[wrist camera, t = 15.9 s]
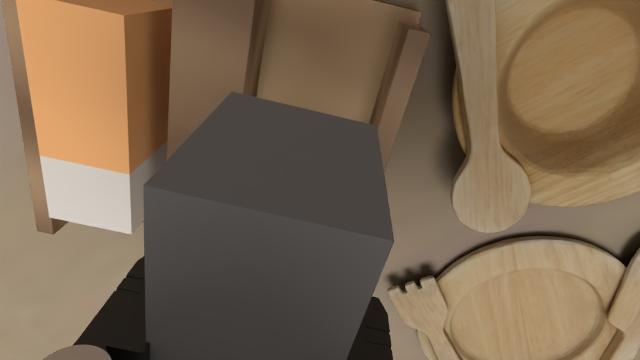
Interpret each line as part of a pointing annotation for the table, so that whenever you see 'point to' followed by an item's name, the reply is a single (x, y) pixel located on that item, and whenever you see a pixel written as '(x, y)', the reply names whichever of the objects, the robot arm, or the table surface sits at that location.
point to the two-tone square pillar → (264, 235)
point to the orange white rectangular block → (98, 103)
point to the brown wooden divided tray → (266, 66)
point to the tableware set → (537, 182)
